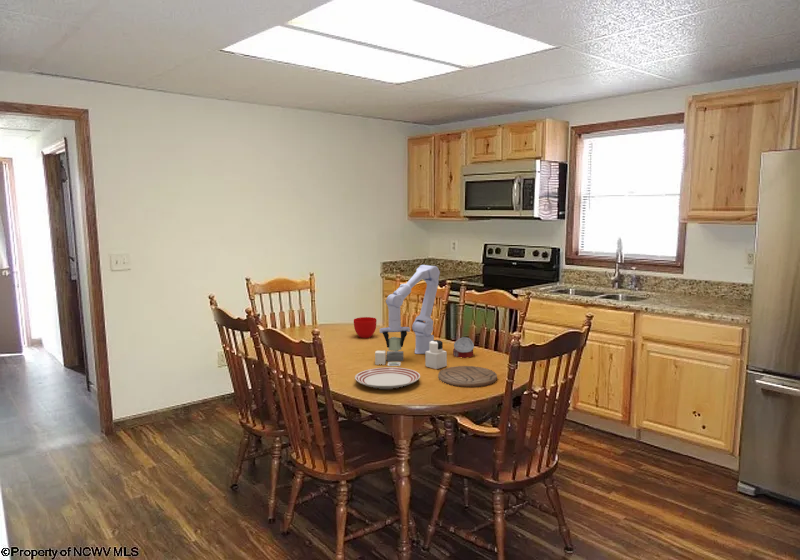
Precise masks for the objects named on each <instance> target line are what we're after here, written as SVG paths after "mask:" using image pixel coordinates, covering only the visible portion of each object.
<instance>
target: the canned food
mask: <svg viewBox="0 0 800 560" xmlns="http://www.w3.org/2000/svg"><path fill="white" fill-rule="evenodd" d="M474 348H475V345H474V342H473V340H472V339H471V338H470V337H468V336H467V337H466V336H462V337H460V338H458V339H456V340H455V342H454V343H453V351H452V355H454V356H453V357H456V358H458V357H462V358H461V359H467V358H466V357H470V358H472V357H471V356H473V357H474Z"/></svg>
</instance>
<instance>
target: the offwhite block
mask: <svg viewBox="0 0 800 560" xmlns="http://www.w3.org/2000/svg"><path fill="white" fill-rule="evenodd" d="M386 355H387V351H386V350H375V352H374V358H375V359H374V360H375V361H374V363H375V364H374V365H377V366H378V365H379V364H380V366H381V364H382V365H383V366H385V365H386Z"/></svg>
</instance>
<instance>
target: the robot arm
mask: <svg viewBox="0 0 800 560" xmlns="http://www.w3.org/2000/svg"><path fill="white" fill-rule="evenodd" d="M439 269H440V268H438V266H437V265H428V264H421V265H419V266H418V267H417V268H416V270H415V271H416V272H414V274H413V275H412V276H411V277H410V279H408V281H407V282H406V283H401V284H400V285H399V287H398V288H397V289H396V290H394V291H393V293H390V294H389V295H388V296H387V297H386V300H385V303H386V306H387V309H388V327H382V328H379V333H380V334H382V335H383V337H384V340H385V343H386V348H387V349H388V348H389V338H390V335H389V333H399V332H400V338H401V348H403V347H404V342H405V340H406V337H407V335H408V333H410V332H411V329H412V331H413V333H414V335H415V349H414V354H417V355H425V352H426V351H429V342H430V341H432V340H435V339H434V334H432V333H433V331H434V320H433V319H432V318H431V315H432V312H433V309H434V308H433V307H434V305H435V299H436V295H437V292H438V291H437V290H438V288H439V282H440V281H439V278H440V274H441V271H440V270H439ZM421 280H424V282H425V283H426V287H425V292H424V297H423V300H422V304H421V308H420V313H419V315H417V316H415V319H414V321H413V323H412V325H411V327H410V326H401V325H402V324H401V323H402V322H401V307H402V306H403V304H404V301H405V299H406V298H407V297H408V296H409V295H410V294H411V293H412V289H413V287H415V286H416V285H417V284H418V283H419V282H420V281H421Z"/></svg>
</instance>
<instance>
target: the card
mask: <svg viewBox="0 0 800 560" xmlns="http://www.w3.org/2000/svg"><path fill="white" fill-rule="evenodd" d="M401 364H402V361H387V367H401Z"/></svg>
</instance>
